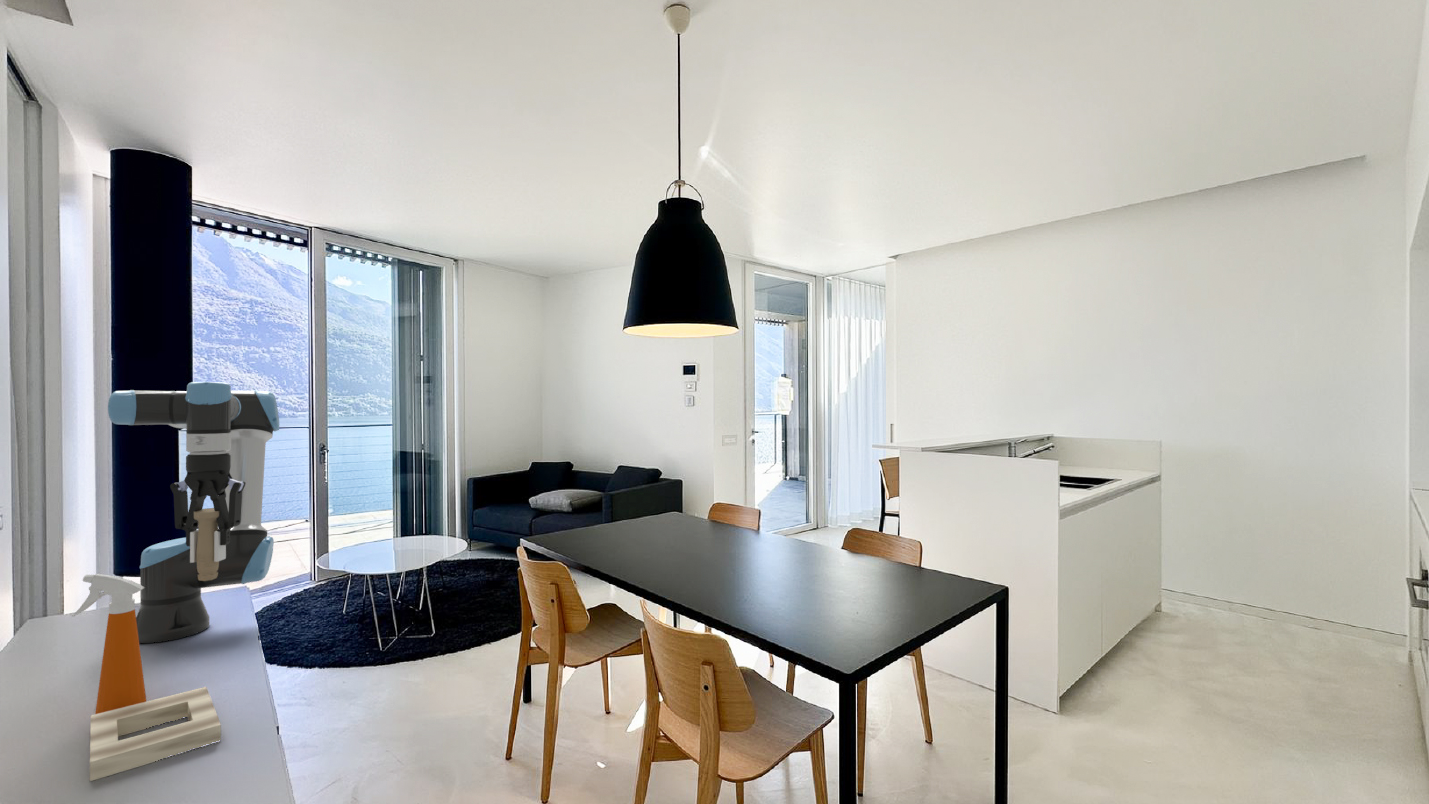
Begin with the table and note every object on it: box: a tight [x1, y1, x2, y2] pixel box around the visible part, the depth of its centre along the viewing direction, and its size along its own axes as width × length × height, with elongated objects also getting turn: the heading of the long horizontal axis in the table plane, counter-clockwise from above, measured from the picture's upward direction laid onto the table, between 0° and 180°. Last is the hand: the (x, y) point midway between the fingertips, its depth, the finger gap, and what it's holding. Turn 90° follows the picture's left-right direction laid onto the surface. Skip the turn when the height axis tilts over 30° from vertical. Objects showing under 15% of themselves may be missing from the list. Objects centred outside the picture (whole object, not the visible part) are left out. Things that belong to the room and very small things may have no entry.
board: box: [89, 686, 222, 782], centre depth 109 cm, size 20×16×3 cm
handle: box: [194, 507, 219, 581], centre depth 134 cm, size 5×6×15 cm
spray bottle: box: [71, 572, 147, 715], centre depth 118 cm, size 7×11×26 cm, turn 111°
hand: (208, 560), depth 134 cm, fingers closed on handle, 4 cm apart
